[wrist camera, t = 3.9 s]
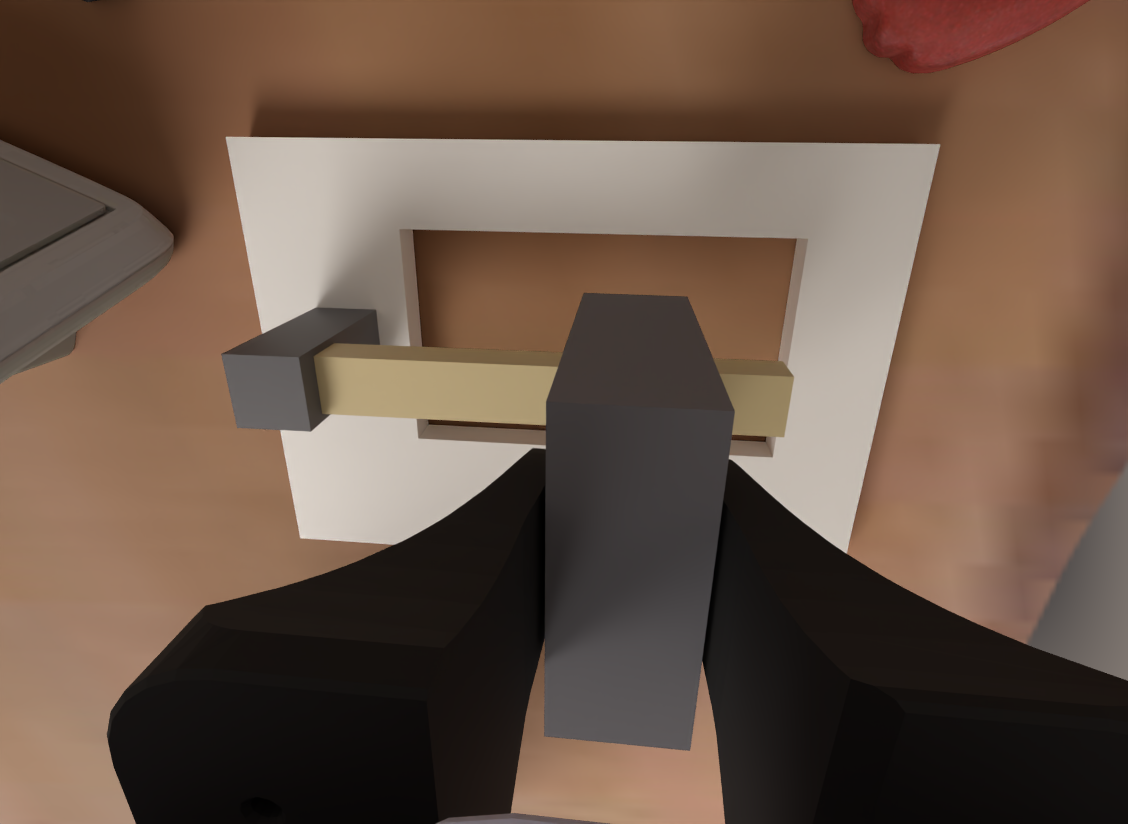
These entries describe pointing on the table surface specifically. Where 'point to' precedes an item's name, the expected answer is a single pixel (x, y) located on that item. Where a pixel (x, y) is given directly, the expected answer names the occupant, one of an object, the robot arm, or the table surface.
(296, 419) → the white slotted board
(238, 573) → the table surface
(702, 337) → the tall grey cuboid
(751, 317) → the table surface
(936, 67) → the stacking bear
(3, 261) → the digital clock
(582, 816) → the table surface
